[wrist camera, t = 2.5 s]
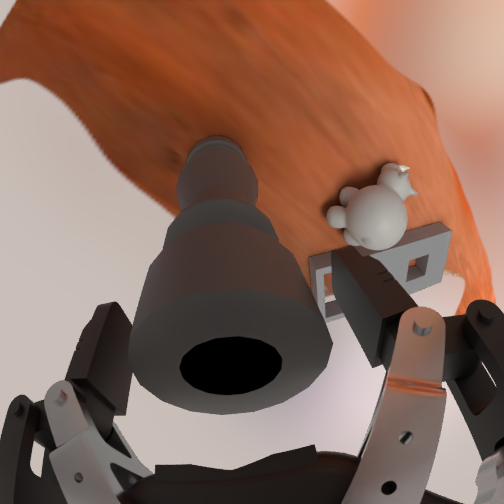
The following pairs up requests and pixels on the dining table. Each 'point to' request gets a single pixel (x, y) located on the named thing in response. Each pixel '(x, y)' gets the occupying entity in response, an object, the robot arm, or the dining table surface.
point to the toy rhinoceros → (374, 210)
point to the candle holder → (225, 299)
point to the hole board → (392, 264)
